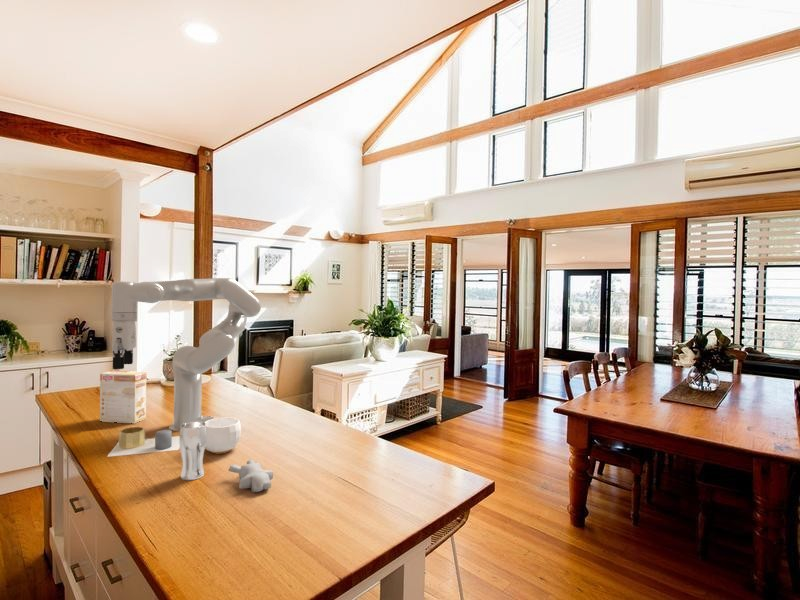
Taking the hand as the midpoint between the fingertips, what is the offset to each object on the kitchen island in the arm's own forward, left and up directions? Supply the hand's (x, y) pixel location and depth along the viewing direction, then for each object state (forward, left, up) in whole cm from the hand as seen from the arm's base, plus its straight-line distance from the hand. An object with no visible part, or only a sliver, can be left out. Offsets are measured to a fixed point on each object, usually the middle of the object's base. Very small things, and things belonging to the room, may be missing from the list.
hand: (123, 366), depth 148 cm
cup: (-33, +18, -27) cm, 46 cm away
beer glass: (-26, +36, -27) cm, 52 cm away
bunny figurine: (-42, +46, -27) cm, 68 cm away
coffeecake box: (+5, -27, -27) cm, 38 cm away
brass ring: (-5, +7, -25) cm, 27 cm away
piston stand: (-10, +9, -26) cm, 30 cm away
